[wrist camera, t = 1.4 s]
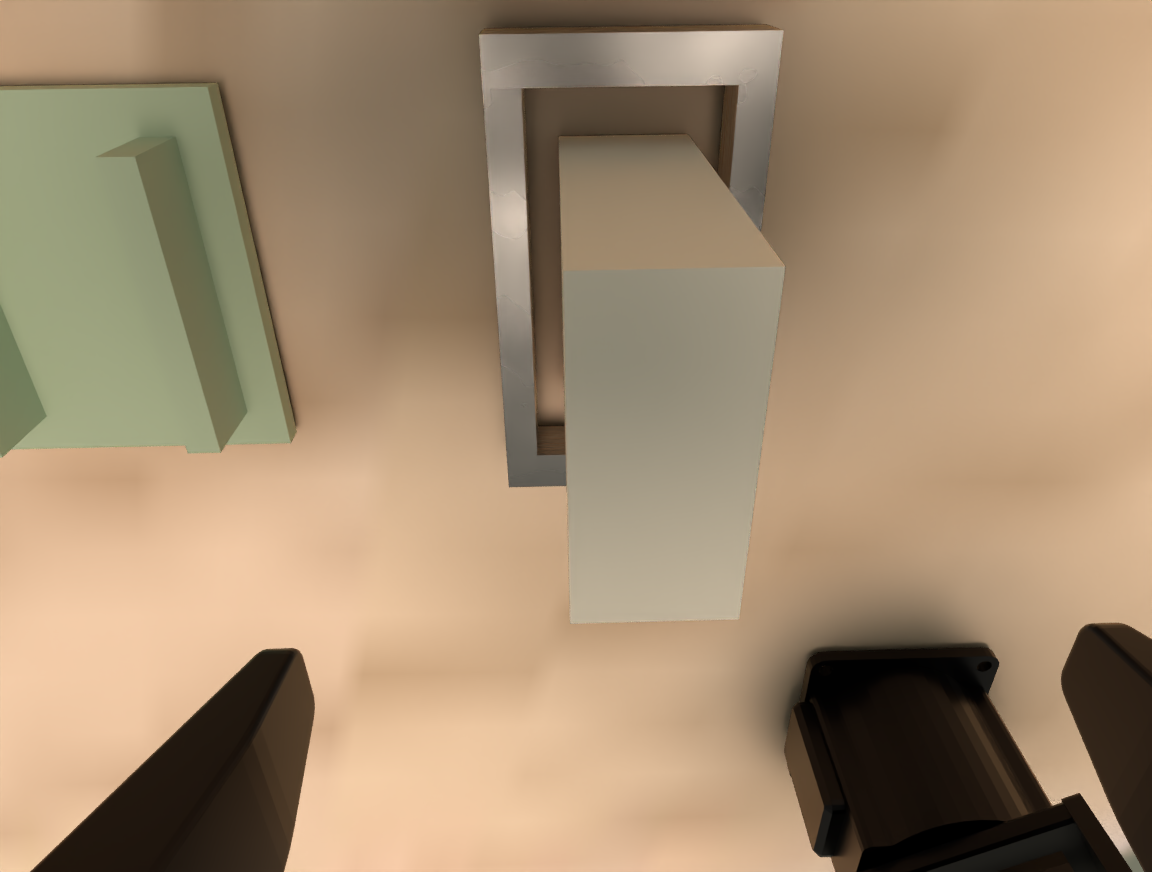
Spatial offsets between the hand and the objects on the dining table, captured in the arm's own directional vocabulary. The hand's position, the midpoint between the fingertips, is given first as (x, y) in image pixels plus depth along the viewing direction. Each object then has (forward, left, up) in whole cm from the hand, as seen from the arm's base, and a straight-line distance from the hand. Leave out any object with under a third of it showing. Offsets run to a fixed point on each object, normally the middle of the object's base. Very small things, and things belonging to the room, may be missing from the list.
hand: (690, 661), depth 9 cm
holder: (+13, 0, -13) cm, 18 cm away
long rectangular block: (0, 0, -13) cm, 13 cm away
